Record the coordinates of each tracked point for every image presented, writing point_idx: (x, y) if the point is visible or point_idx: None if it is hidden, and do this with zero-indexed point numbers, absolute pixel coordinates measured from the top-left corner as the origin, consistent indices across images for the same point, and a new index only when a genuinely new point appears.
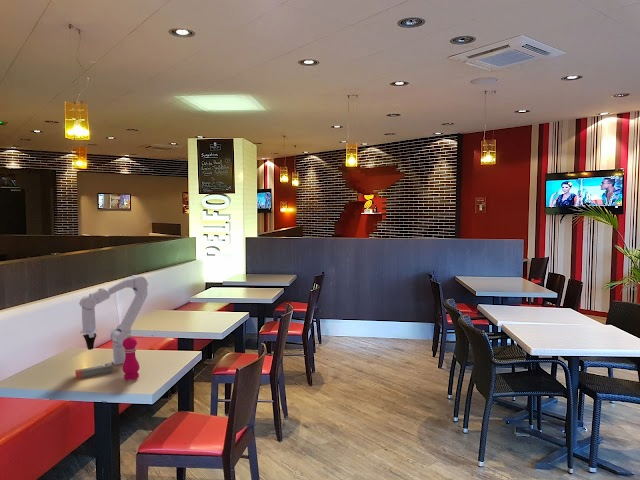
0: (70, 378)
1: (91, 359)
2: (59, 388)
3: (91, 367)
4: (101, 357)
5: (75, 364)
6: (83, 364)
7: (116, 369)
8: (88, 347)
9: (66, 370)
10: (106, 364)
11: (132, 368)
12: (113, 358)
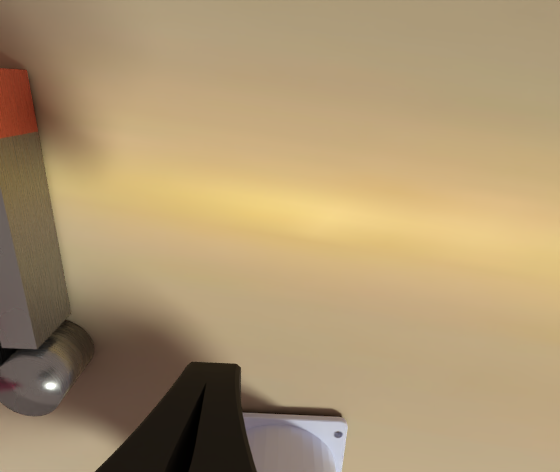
0: (10, 13)
1: (555, 304)
2: None
3: (8, 248)
4: (539, 379)
5: (516, 148)
6: (445, 216)
7: (90, 397)
8: (173, 397)
9: (356, 20)
10: (30, 378)
11: None
12: (287, 450)
